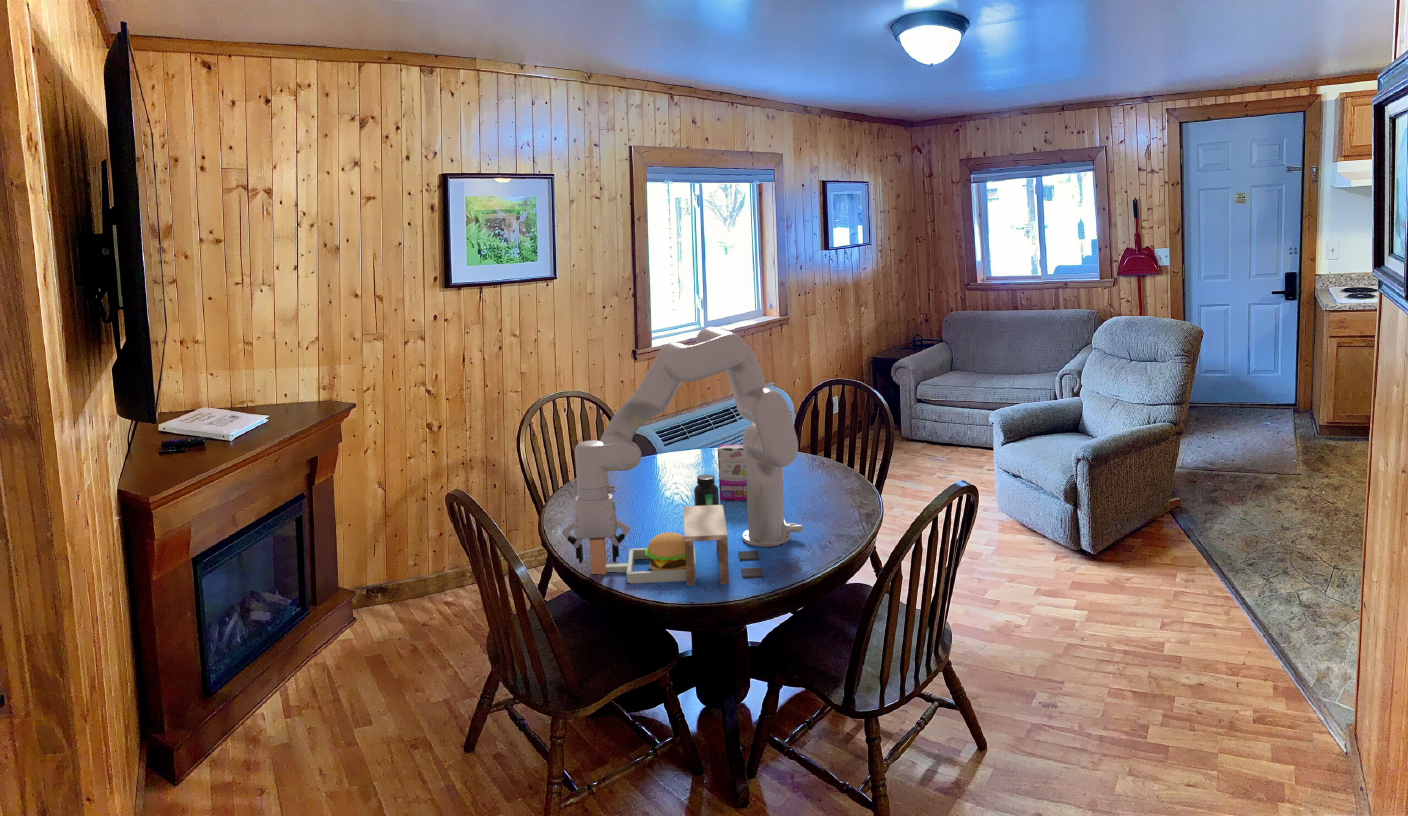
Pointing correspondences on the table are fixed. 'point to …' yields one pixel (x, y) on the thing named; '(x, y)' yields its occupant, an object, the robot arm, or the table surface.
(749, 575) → the pit square
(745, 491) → the candy bar box
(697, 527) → the tunnel
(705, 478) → the supplement bottle
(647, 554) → the hamburger
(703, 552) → the table surface
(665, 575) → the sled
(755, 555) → the pit square
